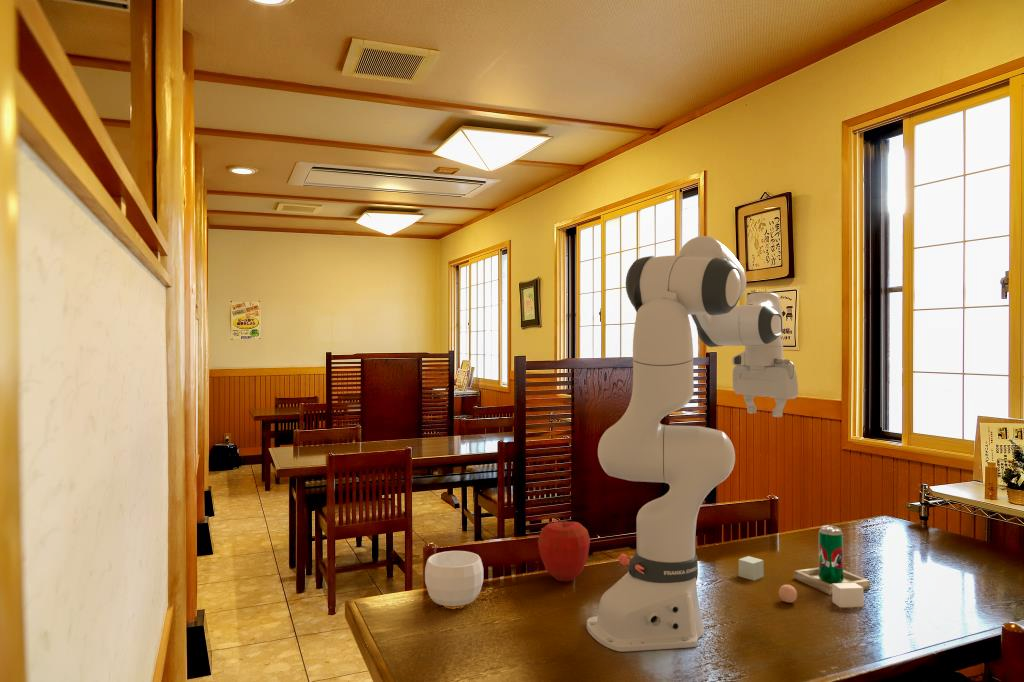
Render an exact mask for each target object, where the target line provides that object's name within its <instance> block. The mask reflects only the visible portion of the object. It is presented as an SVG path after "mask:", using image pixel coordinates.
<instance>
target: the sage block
mask: <svg viewBox="0 0 1024 682" xmlns="http://www.w3.org/2000/svg"><path fill="white" fill-rule="evenodd" d="M764 563H765V562H764V560H763V559H762V558H761V559H760V558H757V557H753V556H750V555H747V556H744V557H741V558H739V559H738V577H741V578H744V579H747V580H751V581H757V580H759V579H761V578H765V577H764V576H765V574H764V573H765V572H764V570H765V569H764V568H765V566H764V565H765V564H764Z"/></svg>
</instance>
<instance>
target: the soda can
mask: <svg viewBox="0 0 1024 682" xmlns="http://www.w3.org/2000/svg"><path fill="white" fill-rule="evenodd" d="M819 527H820V529H819V530H818V567H819V578H820V579H821V580H822V581H824V582H826V583H830V584H832V583H841V582H842V581H843V570H844V533H843V532H842V528H841V527H838V526H834V525H821V526H819Z"/></svg>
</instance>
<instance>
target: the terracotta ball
mask: <svg viewBox="0 0 1024 682" xmlns="http://www.w3.org/2000/svg"><path fill="white" fill-rule="evenodd" d="M778 595H779V598H780V600H781V601H783V602H784V603H787V604H788V603H793V602H795V601H796V600H797V597H798V592H797V590H796V588H795V587H794V586H792V585H791V584H783V585H781V586H780V587H779V589H778Z"/></svg>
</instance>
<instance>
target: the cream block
mask: <svg viewBox="0 0 1024 682" xmlns="http://www.w3.org/2000/svg"><path fill="white" fill-rule="evenodd" d="M832 603H833V604H835V605H836V606H837V607H839V608H864V590H863V587H861V586H860V585H858V584H856V583H832Z"/></svg>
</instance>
